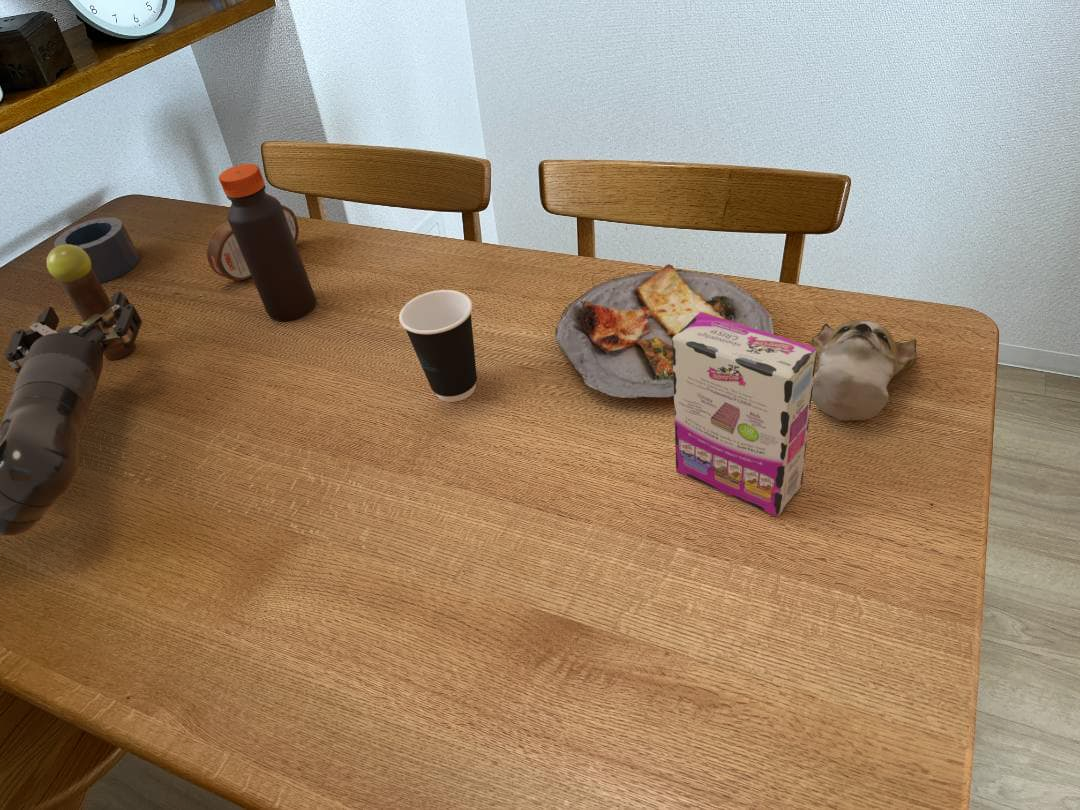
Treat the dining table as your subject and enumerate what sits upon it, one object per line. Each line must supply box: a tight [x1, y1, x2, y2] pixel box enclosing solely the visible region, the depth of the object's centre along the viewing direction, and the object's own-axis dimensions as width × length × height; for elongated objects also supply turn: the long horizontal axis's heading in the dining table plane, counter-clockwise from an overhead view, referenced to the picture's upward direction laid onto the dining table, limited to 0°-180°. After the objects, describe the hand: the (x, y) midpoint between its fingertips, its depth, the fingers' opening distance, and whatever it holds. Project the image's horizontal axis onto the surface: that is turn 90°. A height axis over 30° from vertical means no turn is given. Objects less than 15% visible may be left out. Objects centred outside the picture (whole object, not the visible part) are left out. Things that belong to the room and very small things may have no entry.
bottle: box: [218, 163, 317, 322], centre depth 105 cm, size 7×7×20 cm
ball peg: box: [46, 244, 136, 361], centre depth 103 cm, size 5×5×16 cm
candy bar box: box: [672, 312, 817, 518], centre depth 72 cm, size 11×5×16 cm, turn 50°
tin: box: [206, 204, 300, 282], centre depth 119 cm, size 15×3×8 cm, turn 144°
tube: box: [53, 217, 140, 284], centre depth 126 cm, size 10×10×6 cm
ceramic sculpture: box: [810, 319, 918, 422], centre depth 82 cm, size 11×9×15 cm
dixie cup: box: [398, 289, 478, 403], centre depth 90 cm, size 8×8×11 cm
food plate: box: [554, 263, 776, 399], centre depth 94 cm, size 25×23×4 cm
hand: (86, 305), depth 102 cm, fingers open, 8 cm apart
